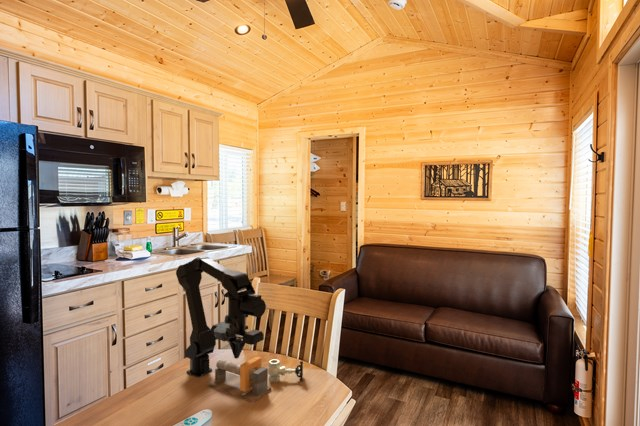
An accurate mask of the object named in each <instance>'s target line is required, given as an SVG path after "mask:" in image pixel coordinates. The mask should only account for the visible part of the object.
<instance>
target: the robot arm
mask: <svg viewBox="0 0 640 426" xmlns="http://www.w3.org/2000/svg"><path fill="white" fill-rule="evenodd" d="M203 273H206V274H207V275H209V276H210V277H212V278H213V279H215V280H216V281H219V282H220V283H221V286H222V287H223V288H224V289H225V291H227V292H225V294H223V297H224V298H227V300H228V304H227V306H228V307H227V314H226V315H225V316H224V321H220V322H218V323H215V324H213V325H212V326H211V328H210V327H209V326H208V323H207V319H206V315H205V309H204V304H203V299H202V294H201V289H200V283H202V282H201V281H202V278H203V277H202V274H203ZM175 275H176V278H177V282H178V284H179V285H180V287H182V288H183V290H184V292H185V297H186V300H187V301H186V303H187V306H188V311H189V312H188V313H189V318H190V321H191V327H192V330H191V333H190V336H189V342H190V343H189V346H188V347H187V348H186V349H185V350H184V355H185V358H187V359H189V370H186V374H189V375H192V376H193V377H196V378H197V377H198V378H199V377H201V376H202V377H203V376H204V375H206V374H208V373H210V372H212V370H213V368H210V355H209V354H213V353H214V350H215V347H216V345H217V343H216V341H218V340H219V341H222V342H227V343H228V344H229V346H230V348H231V351H232V356H233V358H234V359H237V360H238V359H239V358H240V357H241V356H240V355H241V354H242V351H243V349H244V347H245V346H246V344H247V345H255V344H257V343H259V342H261V341H264V339H265V337H264V332H263V331H261V330H257V329H251V330H250V331H247V330H248V329H249V325H246V324H247V321H246V319H247V318H249V316H251V317H255V318H261V317H262V316H263V315H264V314H265V311H266V309H267V304H266V302H265V300H264V299H263V298H262V295H261V294H256V291H255V287H253V285H252V282H251V280H250V278H249V275H248V274H247V273H245V272H242V271H239V270H232V269H229V268H227V267H225V266H223V265H222V264H219V263H218V262H217V261H215V260H212V259H211V258H210V257H209V256H199V257H195V258H194V259H193V260H191V261H189V262H186V263H184V264H180V265H178V267H177V269H176V271H175Z"/></svg>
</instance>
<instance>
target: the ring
mask: <svg viewBox="0 0 640 426" xmlns="http://www.w3.org/2000/svg"><path fill="white" fill-rule="evenodd" d="M239 365H240V375H239V376H240V390H241V391H244V392H245V391H247V390H249V389H250V388H252V387H253V379H252V380H251V379H249V370H251V369H255V370H258V369H260V368H262V357H260V356H255V357H253V358H251V359H249V360H247V361H245V362H244V363H242V364H239Z"/></svg>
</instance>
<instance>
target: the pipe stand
mask: <svg viewBox="0 0 640 426" xmlns="http://www.w3.org/2000/svg"><path fill="white" fill-rule="evenodd" d="M215 365H216V367H215V369H214V371H215V372H214V378H213V379H211V380H209V381H207V383H206V386H208V387H210V388H214V389H215V390H219V391H222V392H225V393H227V394H230V395H232V396H234V397H235V396H236V397H237V398H240V399H243V400H246V401H248V402H252V403H254V402H256V401H257V400H259V399H260V398H262V397H263V396H264V395H266V394H268V393H269V392H271V391H272V386H269V385H268V382H269V374H268V369H269V367H266V366H261V368H260V369H258V370H255V369H251V370H249V379H251V380H252V379H253V387H252V388H250V389H249V390H247V391H245V392H244V391H241V390H240V365H241V364H238V363H235V362H232V361H229V360H226V359H222V358H220V359H218V360H217V361H216V363H215Z"/></svg>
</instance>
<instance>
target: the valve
mask: <svg viewBox="0 0 640 426" xmlns="http://www.w3.org/2000/svg"><path fill="white" fill-rule="evenodd" d="M303 364H304V361H303V360H301V361H299V364H298V365H297V366H296V367H294V369H293V368H292V367H289V368H287V367H286V366H285V365H283V366H281V362H280V360H279V359H275V358H274V359H271V360H269V361H268V382H271V383H277V382H279V381H280V379H281V378H280V376H283V377H284V376H285V375H286V374H287V373H288V374H293V373H294V374H295V375H296V377H297V378H299V381H300V382H303V378H304V375H303V374H304V370H303V369H304V365H303Z"/></svg>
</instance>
